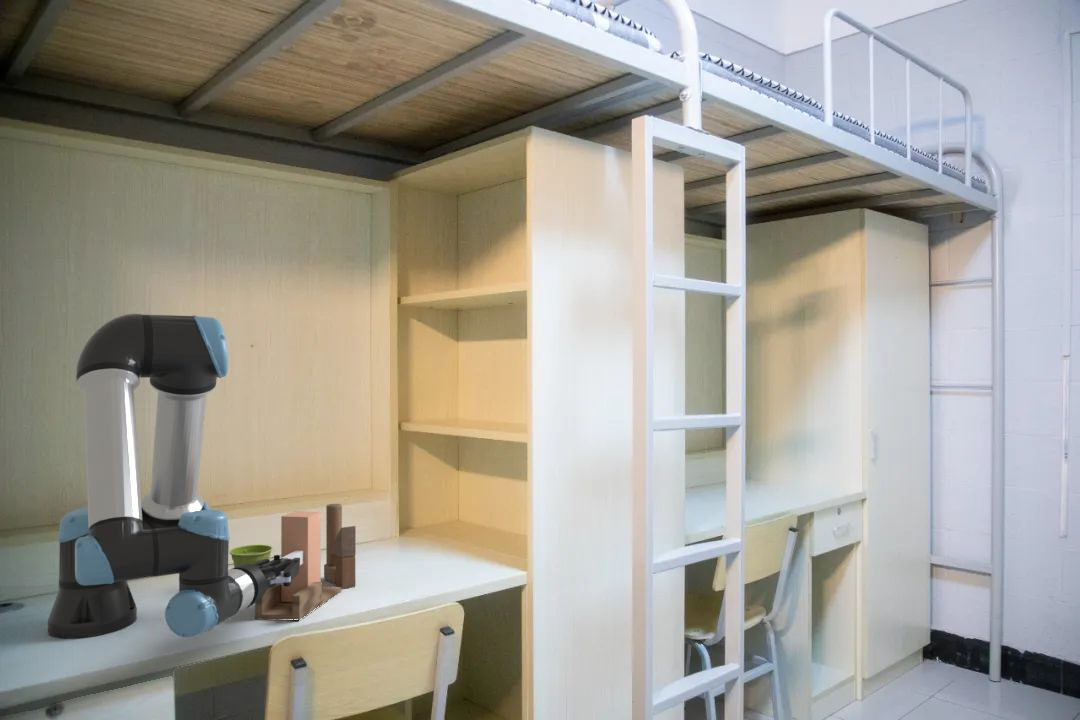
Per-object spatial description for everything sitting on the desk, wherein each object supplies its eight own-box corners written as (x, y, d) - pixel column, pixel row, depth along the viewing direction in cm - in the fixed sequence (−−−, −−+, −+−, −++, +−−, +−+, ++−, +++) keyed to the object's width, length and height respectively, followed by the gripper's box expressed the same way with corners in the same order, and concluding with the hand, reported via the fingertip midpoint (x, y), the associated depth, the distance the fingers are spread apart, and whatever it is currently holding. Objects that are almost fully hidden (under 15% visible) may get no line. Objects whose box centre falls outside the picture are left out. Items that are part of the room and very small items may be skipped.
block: (307, 602, 157) (307, 517, 158) (281, 601, 158) (281, 516, 158) (320, 594, 163) (320, 511, 163) (294, 593, 164) (294, 511, 164)
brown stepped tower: (341, 589, 171) (341, 511, 171) (323, 579, 180) (323, 504, 180) (356, 586, 173) (356, 509, 174) (338, 576, 182) (338, 502, 182)
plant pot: (281, 584, 175) (281, 547, 175) (245, 595, 167) (245, 556, 167) (256, 578, 180) (256, 542, 180) (220, 588, 172) (220, 550, 173)
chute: (299, 621, 150) (299, 596, 150) (255, 618, 151) (255, 594, 151) (341, 591, 170) (341, 569, 170) (301, 589, 171) (301, 568, 171)
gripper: (203, 608, 135) (271, 573, 158) (270, 612, 133) (329, 575, 156) (203, 567, 135) (271, 537, 159) (270, 569, 133) (329, 540, 156)
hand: (299, 556), depth 157 cm, fingers closed
